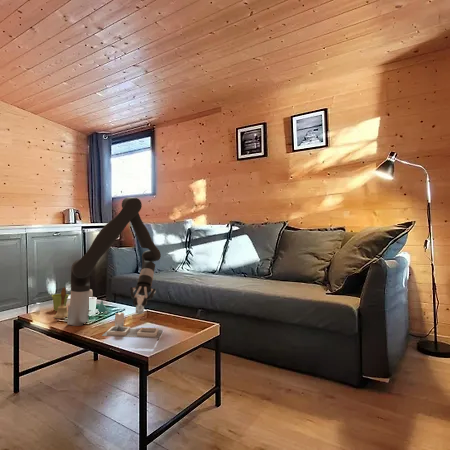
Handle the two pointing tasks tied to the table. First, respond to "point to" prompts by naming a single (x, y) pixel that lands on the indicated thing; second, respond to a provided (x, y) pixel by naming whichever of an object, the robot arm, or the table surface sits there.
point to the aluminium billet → (140, 303)
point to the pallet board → (134, 332)
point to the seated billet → (119, 321)
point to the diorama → (102, 307)
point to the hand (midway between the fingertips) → (139, 305)
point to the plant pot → (58, 300)
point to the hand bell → (62, 306)
